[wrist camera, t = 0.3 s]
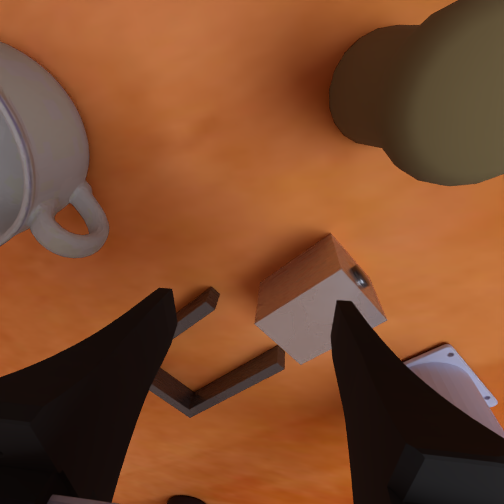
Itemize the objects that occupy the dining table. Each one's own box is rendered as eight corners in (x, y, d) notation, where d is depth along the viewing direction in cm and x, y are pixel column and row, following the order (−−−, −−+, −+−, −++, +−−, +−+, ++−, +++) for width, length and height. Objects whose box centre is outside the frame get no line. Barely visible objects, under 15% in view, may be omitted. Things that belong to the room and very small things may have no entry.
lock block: (372, 274, 23) (391, 318, 19) (298, 318, 26) (300, 364, 22) (334, 229, 22) (345, 266, 18) (260, 281, 25) (254, 323, 20)
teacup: (-73, 111, 21) (-257, 126, 14) (2, -21, 16) (-205, -94, 10) (88, 256, 25) (13, 322, 18) (178, 181, 21) (124, 230, 14)
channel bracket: (284, 351, 28) (284, 368, 26) (194, 400, 33) (190, 417, 32) (211, 286, 25) (205, 301, 24) (125, 351, 31) (116, 367, 29)
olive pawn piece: (322, 144, 19) (357, 207, 9) (337, 24, 16) (412, -60, 6) (421, 148, 18) (564, 219, 9) (457, 25, 15) (731, -65, 6)
